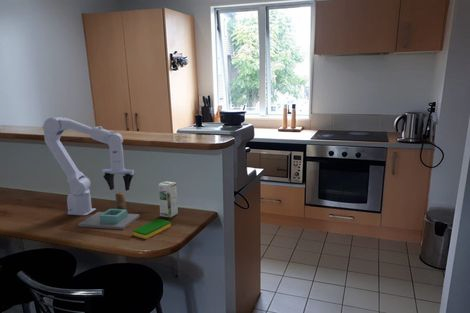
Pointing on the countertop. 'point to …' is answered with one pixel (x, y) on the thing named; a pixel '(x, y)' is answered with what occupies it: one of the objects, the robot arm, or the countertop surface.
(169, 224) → the dish sponge
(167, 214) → the syrup box
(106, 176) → the robot arm
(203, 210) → the countertop surface
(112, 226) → the socket stand
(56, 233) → the countertop surface
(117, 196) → the walnut peg
